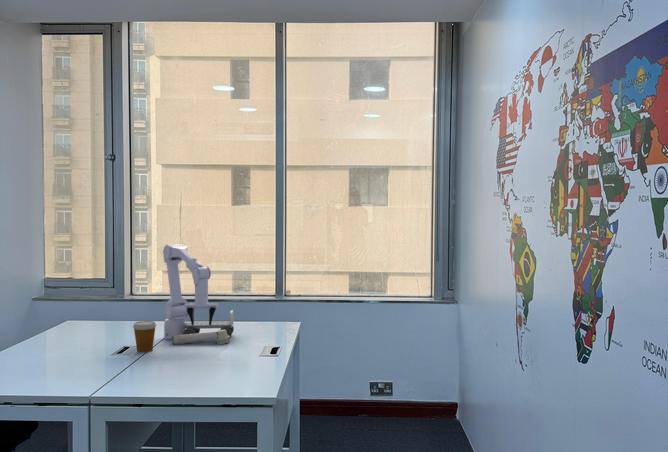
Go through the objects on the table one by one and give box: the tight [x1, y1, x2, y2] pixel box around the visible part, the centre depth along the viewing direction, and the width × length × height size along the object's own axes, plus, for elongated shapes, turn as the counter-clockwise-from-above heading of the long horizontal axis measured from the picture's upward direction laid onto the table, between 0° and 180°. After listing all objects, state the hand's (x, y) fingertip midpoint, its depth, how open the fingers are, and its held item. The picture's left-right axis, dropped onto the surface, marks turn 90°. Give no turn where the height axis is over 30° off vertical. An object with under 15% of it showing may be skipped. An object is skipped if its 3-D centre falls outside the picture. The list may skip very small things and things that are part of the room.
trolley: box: [183, 310, 235, 340], centre depth 266 cm, size 22×13×12 cm, turn 95°
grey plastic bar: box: [171, 329, 231, 345], centre depth 256 cm, size 5×7×25 cm
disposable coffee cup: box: [132, 320, 157, 353], centre depth 242 cm, size 10×10×12 cm
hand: (201, 324), depth 252 cm, fingers open, 7 cm apart
